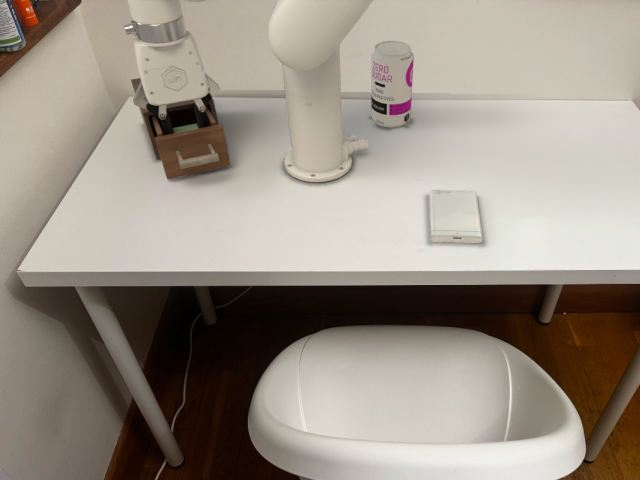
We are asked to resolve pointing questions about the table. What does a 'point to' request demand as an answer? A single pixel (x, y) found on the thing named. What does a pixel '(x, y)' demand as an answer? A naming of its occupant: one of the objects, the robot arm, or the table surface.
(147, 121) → the cabinet
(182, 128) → the block
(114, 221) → the table surface
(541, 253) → the table surface
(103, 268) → the table surface
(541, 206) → the table surface
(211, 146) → the drawer
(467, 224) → the hard drive
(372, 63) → the white soda can
